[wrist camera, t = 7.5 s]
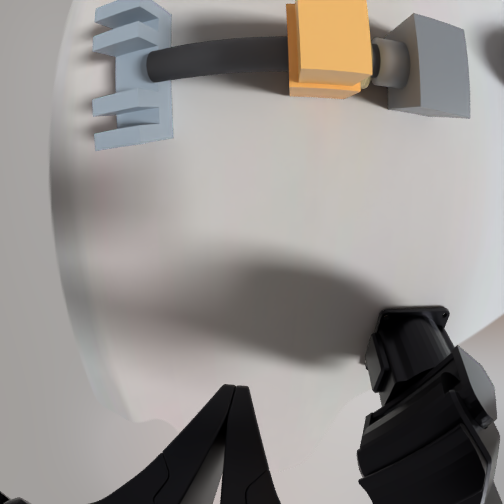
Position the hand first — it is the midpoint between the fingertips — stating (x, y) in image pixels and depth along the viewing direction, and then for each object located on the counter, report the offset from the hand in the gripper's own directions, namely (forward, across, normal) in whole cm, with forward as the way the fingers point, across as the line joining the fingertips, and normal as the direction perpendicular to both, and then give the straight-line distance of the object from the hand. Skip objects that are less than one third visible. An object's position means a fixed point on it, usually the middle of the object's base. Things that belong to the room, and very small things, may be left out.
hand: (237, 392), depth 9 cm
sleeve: (+12, -3, -12) cm, 17 cm away
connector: (+12, -9, -12) cm, 19 cm away
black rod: (+11, -1, -12) cm, 16 cm away
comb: (+12, +8, -12) cm, 19 cm away
